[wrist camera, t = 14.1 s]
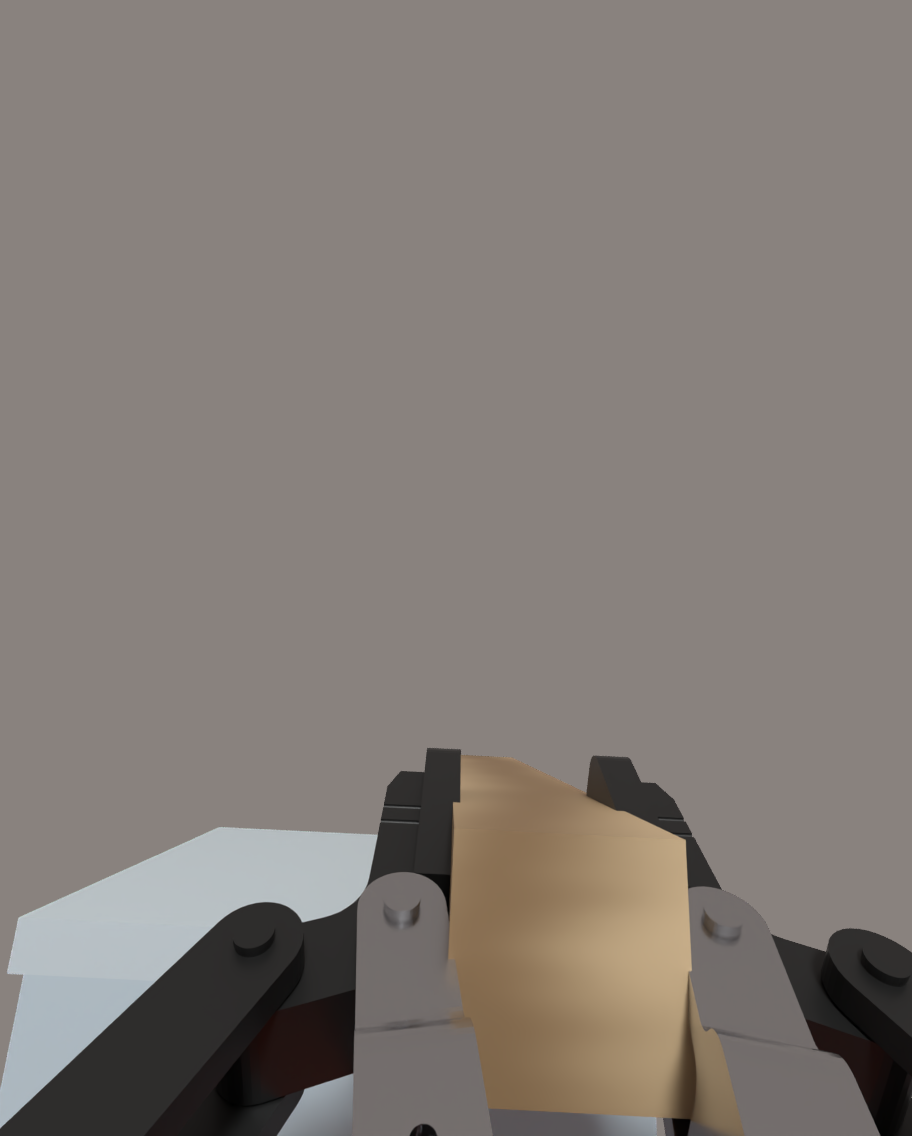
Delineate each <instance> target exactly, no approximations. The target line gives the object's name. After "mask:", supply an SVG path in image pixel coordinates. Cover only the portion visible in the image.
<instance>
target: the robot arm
mask: <svg viewBox="0 0 912 1136" xmlns="http://www.w3.org/2000/svg"><path fill="white" fill-rule="evenodd" d="M460 785H461V750H460V749H439V748H427V755H426V764H425V772H407V771H401V772H400V773H399V774H398V775H397V776H396V777H395V778H394V780H393V781H392V782H391V783H390V784H389V785H388V787H387V792H386V797H385V802H384V807H383V812H382V817H381V823H380V827H379V832H378V836H377V841H376V846H375V851H374V856H373V861H372V866H371V871H370V876H369V880H368V883H367V886H366V888H365V890H364V891H363V893H362V894H361V895H360V897H359V898H358V899H357V900H356V901H355V902H354V903H352V904H351V905H350V906H348V907H347V908H345V909H344V910H342V911H340V912H338V913H335V914H333V915H330V916H327V917H323V918H319V919H315V920H310V921H306V922H302V921H301V919H300V917H299V916H298V914H297V913H296V912H295V911H293V910H292V909H291V908H289V907H287V906H285V905H282V904H279V903H274V902H260V903H254V904H249V905H246V906H244V907H241V908H239V909H237V910H235V911H233V912H231V913H230V914H228V915H227V916H225V917H224V918H223V919H222V920H220V921H219V922H218V923H217V924H216V925H215V926H214V927H213V928H212V929H211V930H210V931H209V932H207V933H206V934H205V935H204V936H203V937H202V938H201V939H200V940H199V941H198V942H197V943H196V944H195V945H194V946H193V947H192V948H191V949H189V950H188V951H187V952H186V953H185V954H184V955H183V956H182V957H181V958H180V959H179V960H178V961H177V962H176V963H175V964H174V965H173V966H171V967H170V968H169V969H168V970H167V971H166V972H165V973H164V974H163V975H162V976H161V977H160V978H159V979H158V980H157V981H156V982H155V983H153V984H152V985H151V986H150V987H149V988H148V989H147V990H146V991H145V992H144V993H143V994H142V995H141V996H140V997H139V998H138V999H137V1000H135V1001H134V1002H133V1003H132V1004H131V1005H130V1006H129V1007H128V1008H127V1009H126V1010H125V1011H124V1012H123V1013H122V1014H121V1015H120V1016H119V1017H117V1018H116V1019H115V1020H114V1021H113V1022H112V1023H111V1024H110V1025H109V1026H108V1027H107V1028H106V1029H105V1030H104V1031H103V1032H102V1033H101V1034H99V1035H98V1036H97V1037H96V1038H95V1039H94V1040H93V1041H92V1042H91V1043H90V1044H89V1045H88V1046H87V1047H86V1048H85V1049H84V1050H83V1051H81V1052H80V1053H79V1054H78V1055H77V1056H76V1057H75V1058H74V1059H73V1060H72V1061H71V1062H70V1063H69V1064H68V1065H67V1066H66V1067H65V1068H63V1069H62V1070H61V1071H60V1072H59V1073H58V1074H57V1075H56V1076H55V1077H54V1078H53V1079H52V1080H51V1081H50V1082H49V1083H48V1084H47V1085H45V1086H44V1087H43V1088H42V1089H41V1090H40V1091H39V1092H38V1093H37V1094H36V1095H35V1096H34V1097H33V1098H32V1099H31V1100H30V1101H29V1102H27V1103H26V1104H25V1105H24V1106H23V1107H22V1108H21V1109H20V1110H19V1111H18V1112H17V1113H16V1114H15V1115H14V1116H13V1117H12V1118H11V1119H9V1120H8V1121H7V1122H6V1123H5V1124H4V1125H3V1126H2V1127H1V1128H0V1136H277V1135H278V1133H279V1132H280V1130H281V1129H282V1127H283V1126H284V1124H285V1123H286V1121H287V1120H288V1118H289V1117H290V1115H291V1114H292V1112H293V1111H294V1109H295V1108H296V1106H297V1104H298V1103H299V1101H300V1099H301V1097H302V1095H303V1092H304V1090H305V1089H307V1088H310V1087H313V1086H316V1085H319V1084H322V1083H325V1082H329V1081H332V1080H335V1079H338V1078H341V1077H344V1076H347V1075H350V1074H353V1123H352V1136H493V1133H492V1127H491V1121H490V1115H489V1110H488V1104H487V1098H486V1092H485V1086H484V1081H483V1075H482V1069H481V1063H480V1057H479V1052H478V1046H477V1040H476V1035H475V1030H474V1026H473V1023H472V1020H471V1018H470V1017H465V1016H464V1012H463V1006H462V1000H461V994H460V987H459V981H458V975H457V968H456V962H455V959H448V949H449V918H448V914H449V896H450V878H451V848H452V817H453V802H457V803H460ZM586 796H588V797H590V798H592V799H594V800H596V801H598V802H600V803H602V804H604V805H606V806H608V807H610V808H612V809H614V810H616V811H625V812H627V813H630V814H632V815H634V816H636V817H638V818H640V819H642V820H644V821H646V822H649V823H651V824H653V825H655V826H657V827H659V828H661V829H663V830H665V831H667V832H670V833H672V834H674V835H676V836H678V837H680V838H682V839H684V840H686V858H687V880H688V901H689V922H690V943H691V964H692V971H689V983H688V1023H689V1028H690V1033H691V1038H692V1043H693V1048H694V1053H695V1061H696V1074H697V1087H696V1097H695V1103H694V1108H693V1112H692V1117H691V1119H679V1118H663V1120H664V1127H665V1134H666V1136H912V1098H911V1097H912V953H911V952H910V951H909V950H907V949H906V948H904V947H903V946H901V945H899V944H898V943H896V942H894V941H892V940H890V939H888V938H886V937H884V936H881V935H879V934H876V933H873V932H870V931H866V930H861V929H842V930H840V931H837V932H835V933H834V934H833V935H832V936H831V937H830V939H829V943H828V947H827V951H826V952H825V951H821V950H818V949H815V948H811V947H808V946H805V945H802V944H798V943H795V942H792V941H789V940H785V939H782V938H779V937H777V936H774V935H772V934H771V933H770V930H769V928H768V926H767V924H766V922H765V921H764V919H763V918H762V917H761V915H760V914H759V913H758V912H757V911H756V910H755V909H754V908H753V907H751V906H750V905H749V904H748V903H747V902H745V901H744V900H742V899H740V898H739V897H737V896H735V895H733V894H731V893H729V892H726V891H724V890H722V889H721V887H720V885H719V883H718V882H717V880H716V878H715V876H714V874H713V872H712V870H711V869H710V867H709V865H708V863H707V861H706V859H705V857H704V855H703V853H702V852H701V850H700V848H699V846H698V844H697V842H696V840H695V838H694V837H692V833H691V831H690V829H689V827H688V825H687V824H686V822H684V820H683V819H684V818H683V816H682V814H681V812H680V810H679V808H678V807H677V805H676V803H675V801H674V799H673V798H671V797H670V796H669V795H668V794H667V793H666V792H664V791H663V790H662V789H661V788H660V787H659V786H658V785H657V784H656V783H642V782H641V781H640V779H639V777H638V775H637V772H636V770H635V768H634V766H633V764H632V762H631V760H630V759H629V758H628V757H610V756H593V757H592V759H591V762H590V768H589V777H588V785H587V794H586Z"/></svg>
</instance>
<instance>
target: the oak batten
mask: <svg viewBox="0 0 912 1136" xmlns="http://www.w3.org/2000/svg"><path fill="white" fill-rule="evenodd" d="M586 794H587V793H585V792H583V791H581V790H579V789H577V788H575V787H573V786H571V785H568V784H566V783H564V782H562V781H560V780H558V779H556V778H554V777H552V776H550V775H547V774H545V773H543V772H541V771H539V770H537V769H535V768H533V767H531V766H529V765H526V764H524V763H522V762H520V761H518V760H516V759H514V758H509V757H489V756H469V755H461V785H460V803H457V802H453V817H452V848H451V878H450V896H449V914H448V918H449V949H448V959H455V962H456V968H457V975H458V981H459V987H460V994H461V1000H462V1006H463V1012H464V1016H465V1017H470V1018H471V1020H472V1023H473V1026H474V1030H475V1035H476V1040H477V1046H478V1052H479V1057H480V1063H481V1069H482V1075H483V1081H484V1086H485V1092H486V1098H487V1104H488V1108H489V1109H508V1110H527V1111H546V1112H565V1113H584V1114H603V1115H622V1116H641V1117H660V1118H679V1119H691V1117H692V1112H693V1108H694V1103H695V1097H696V1087H697V1074H696V1061H695V1053H694V1048H693V1043H692V1038H691V1033H690V1028H689V1023H688V983H689V971H692V964H691V943H690V922H689V901H688V880H687V858H686V840H684V839H682V838H680V837H678V836H676V835H674V834H672V833H670V832H667V831H665V830H663V829H661V828H659V827H657V826H655V825H653V824H651V823H649V822H646V821H644V820H642V819H640V818H638V817H636V816H634V815H632V814H630V813H627V812H625V811H616V810H614V809H612V808H610V807H608V806H606V805H604V804H602V803H600V802H598V801H596V800H594V799H592V798H590V797H588V796H586Z"/></svg>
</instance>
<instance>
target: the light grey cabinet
mask: <svg viewBox="0 0 912 1136" xmlns="http://www.w3.org/2000/svg"><path fill="white" fill-rule="evenodd" d="M377 836H378V835H370V834H349V833H328V832H309V831H308V832H307V831H288V830H268V829H247V828H226V827H225V828H224V827H219V828H217V829H214V830H212V831H210V832H208V833H205V834H203V835H201V836H199V837H196V838H194V839H192V840H190V841H187V842H185V843H183V844H181V845H179V846H176V847H174V848H172V849H170V850H167V851H165V852H164V853H161V854H159V855H156V856H154V857H152V858H150V859H147V860H145V861H143V862H141V863H139V864H137V865H134V866H132V867H130V868H127V869H125V870H123V871H121V872H119V873H116V874H114V875H112V876H110V877H107V878H105V879H103V880H101V881H99V882H97V883H94V884H92V885H90V886H88V887H85V888H83V889H81V890H79V891H76V892H74V893H72V894H70V895H68V896H65V897H63V898H61V899H59V900H56V901H54V902H52V903H50V904H48V905H45V906H43V907H41V908H39V909H37V910H34V911H32V912H30V913H28V914H25V915H24V916H21V917H19V918H18V923H17V928H16V933H15V938H14V942H13V947H12V952H11V957H10V961H9V966H8V971H7V973H8V974H24V975H23V981H22V986H21V990H20V995H19V1000H18V1005H17V1010H16V1015H15V1020H14V1025H13V1029H12V1034H11V1039H10V1044H9V1049H8V1054H7V1059H6V1064H5V1069H4V1074H3V1079H2V1084H1V1089H0V1128H1V1127H2V1126H3V1125H4V1124H5V1123H6V1122H7V1121H8V1120H9V1119H11V1118H12V1117H13V1116H14V1115H15V1114H16V1113H17V1112H18V1111H19V1110H20V1109H21V1108H22V1107H23V1106H24V1105H25V1104H26V1103H27V1102H29V1101H30V1100H31V1099H32V1098H33V1097H34V1096H35V1095H36V1094H37V1093H38V1092H39V1091H40V1090H41V1089H42V1088H43V1087H44V1086H45V1085H47V1084H48V1083H49V1082H50V1081H51V1080H52V1079H53V1078H54V1077H55V1076H56V1075H57V1074H58V1073H59V1072H60V1071H61V1070H62V1069H63V1068H65V1067H66V1066H67V1065H68V1064H69V1063H70V1062H71V1061H72V1060H73V1059H74V1058H75V1057H76V1056H77V1055H78V1054H79V1053H80V1052H81V1051H83V1050H84V1049H85V1048H86V1047H87V1046H88V1045H89V1044H90V1043H91V1042H92V1041H93V1040H94V1039H95V1038H96V1037H97V1036H98V1035H99V1034H101V1033H102V1032H103V1031H104V1030H105V1029H106V1028H107V1027H108V1026H109V1025H110V1024H111V1023H112V1022H113V1021H114V1020H115V1019H116V1018H117V1017H119V1016H120V1015H121V1014H122V1013H123V1012H124V1011H125V1010H126V1009H127V1008H128V1007H129V1006H130V1005H131V1004H132V1003H133V1002H134V1001H135V1000H137V999H138V998H139V997H140V996H141V995H142V994H143V993H144V992H145V991H146V990H147V989H148V988H149V987H150V986H151V985H152V984H153V983H155V982H156V981H157V980H158V979H159V978H160V977H161V976H162V975H163V974H164V973H165V972H166V971H167V970H168V969H169V968H170V967H171V966H173V965H174V964H175V963H176V962H177V961H178V960H179V959H180V958H181V957H182V956H183V955H184V954H185V953H186V952H187V951H188V950H189V949H191V948H192V947H193V946H194V945H195V944H196V943H197V942H198V941H199V940H200V939H201V938H202V937H203V936H204V935H205V934H206V933H207V932H209V931H210V930H211V929H212V928H213V927H214V926H215V925H216V924H217V923H218V922H219V921H220V920H222V919H223V918H224V917H225V916H227V915H228V914H230V913H231V912H233V911H235V910H237V909H239V908H241V907H244V906H246V905H249V904H254V903H260V902H274V903H279V904H282V905H285V906H287V907H289V908H291V909H292V910H293V911H295V912H296V913H297V914H298V916H299V917H300V919H301V921H302V922H306V921H310V920H315V919H319V918H323V917H327V916H330V915H333V914H335V913H338V912H340V911H342V910H344V909H345V908H347V907H348V906H350V905H351V904H352V903H354V902H355V901H356V900H357V899H358V898H359V897H360V895H361V894H362V893H363V891H364V890H365V888H366V886H367V883H368V880H369V876H370V871H371V866H372V861H373V856H374V851H375V846H376V841H377ZM488 1110H489V1115H490V1121H491V1127H492V1133H493V1136H657V1126H656V1117H641V1116H622V1115H603V1114H584V1113H565V1112H546V1111H527V1110H508V1109H489V1108H488ZM352 1123H353V1074H350V1075H347V1076H344V1077H341V1078H338V1079H335V1080H332V1081H329V1082H325V1083H322V1084H319V1085H316V1086H313V1087H310V1088H307V1089H305V1090H304V1092H303V1095H302V1097H301V1099H300V1101H299V1103H298V1104H297V1106H296V1108H295V1109H294V1111H293V1112H292V1114H291V1115H290V1117H289V1118H288V1120H287V1121H286V1123H285V1124H284V1126H283V1127H282V1129H281V1130H280V1132H279V1133H278V1135H277V1136H352Z"/></svg>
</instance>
